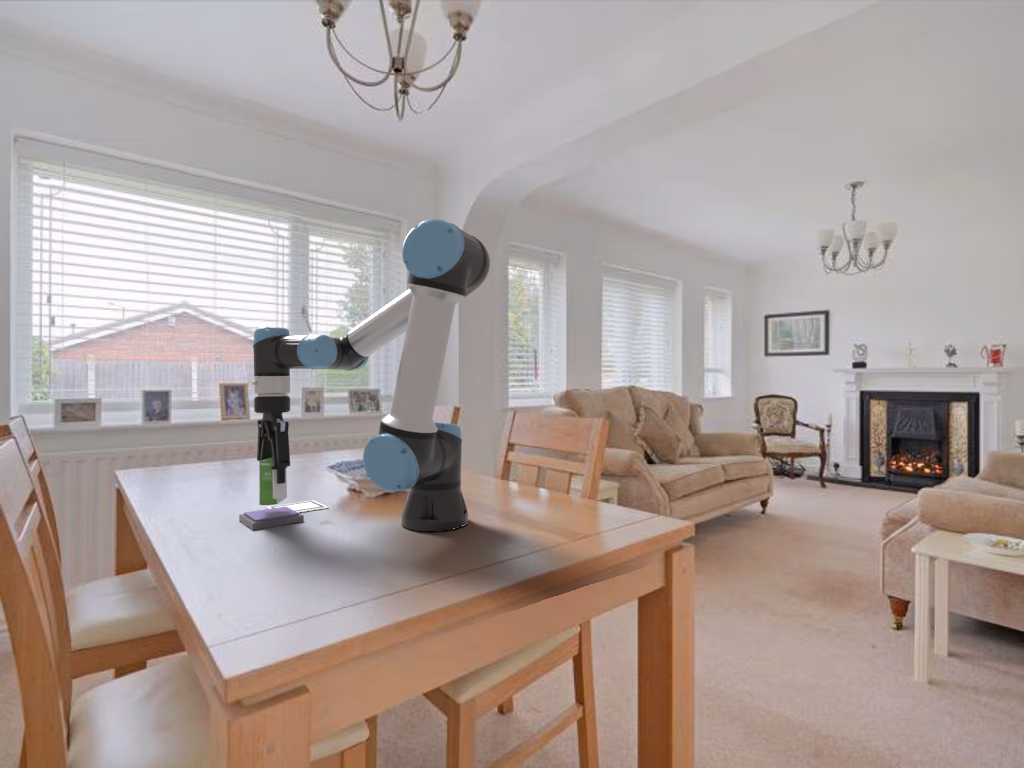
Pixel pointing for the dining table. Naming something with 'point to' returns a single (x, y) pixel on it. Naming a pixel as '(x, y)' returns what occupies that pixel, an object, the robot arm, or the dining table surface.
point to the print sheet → (302, 506)
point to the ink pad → (270, 517)
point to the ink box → (267, 483)
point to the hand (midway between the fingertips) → (273, 494)
